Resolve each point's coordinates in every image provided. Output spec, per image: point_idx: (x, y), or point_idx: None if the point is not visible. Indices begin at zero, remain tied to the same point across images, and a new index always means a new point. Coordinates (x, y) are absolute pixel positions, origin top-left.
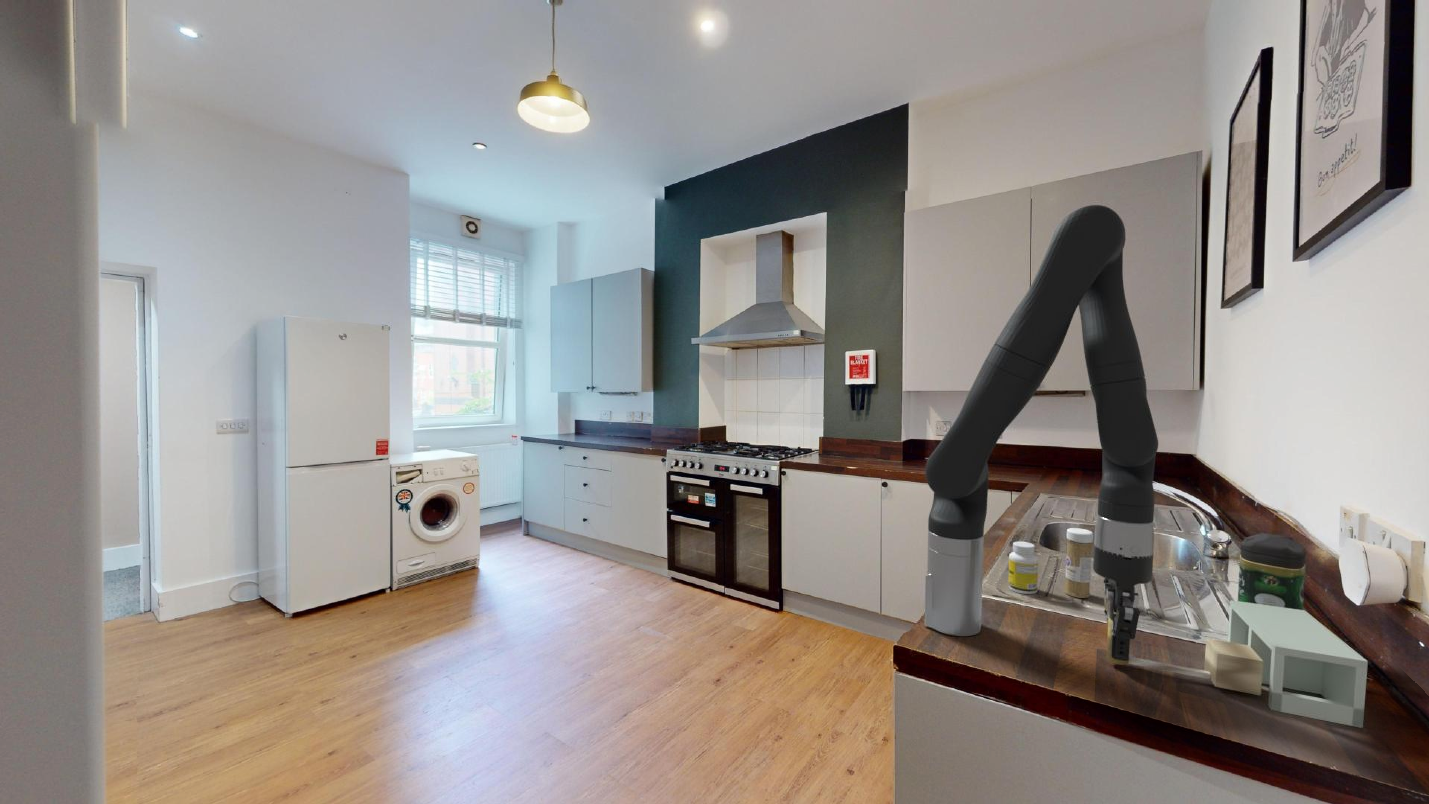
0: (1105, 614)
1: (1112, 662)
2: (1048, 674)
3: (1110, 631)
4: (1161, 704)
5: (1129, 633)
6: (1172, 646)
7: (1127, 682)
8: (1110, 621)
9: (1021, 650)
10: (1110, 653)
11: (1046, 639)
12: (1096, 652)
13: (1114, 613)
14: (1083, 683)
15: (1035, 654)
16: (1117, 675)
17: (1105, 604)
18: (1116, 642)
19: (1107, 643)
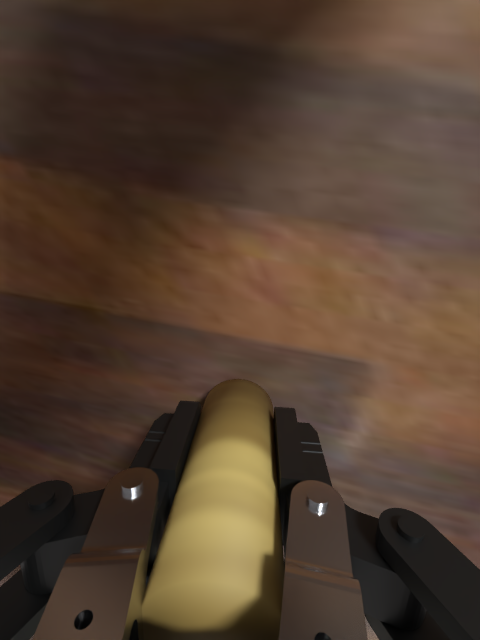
0: (398, 512)
1: (210, 391)
2: (42, 139)
3: (198, 469)
4: (37, 455)
5: (20, 575)
6: None
7: (129, 402)
8: (189, 522)
9: (225, 25)
10: (209, 402)
11: (400, 168)
12: (331, 355)
13: (201, 609)
14: (42, 264)
15: (209, 97)
16: (165, 385)
17: (286, 626)
18: (135, 459)
19: (230, 414)
